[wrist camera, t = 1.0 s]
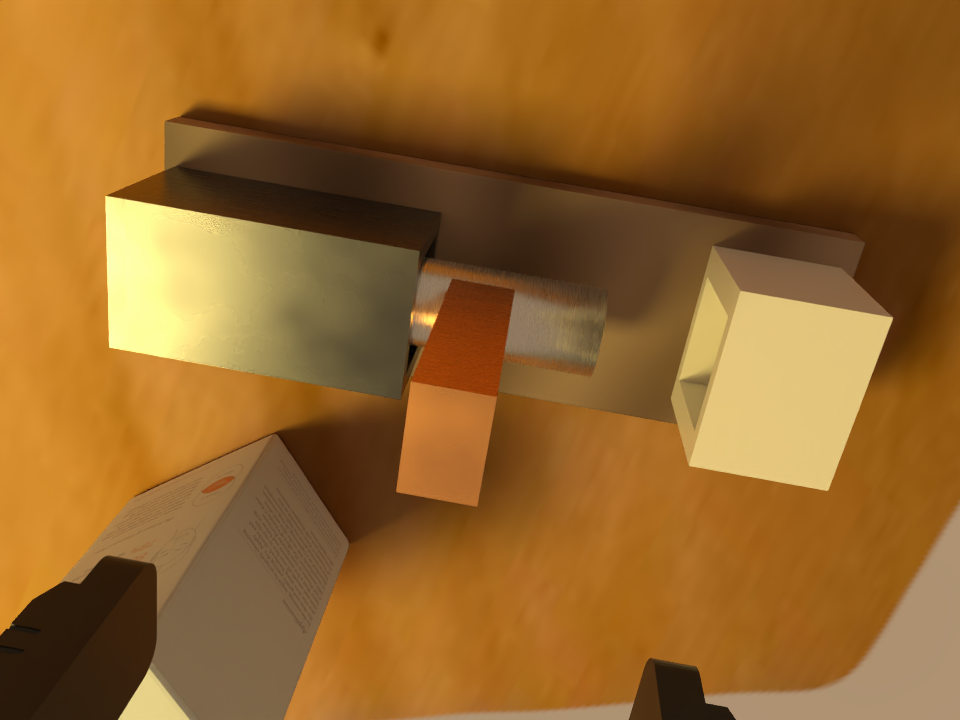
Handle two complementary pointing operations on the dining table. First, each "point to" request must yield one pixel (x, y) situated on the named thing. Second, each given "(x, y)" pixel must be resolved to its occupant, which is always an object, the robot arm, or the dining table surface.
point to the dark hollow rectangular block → (267, 278)
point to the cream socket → (775, 367)
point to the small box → (228, 583)
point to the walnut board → (539, 246)
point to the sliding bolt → (483, 363)
